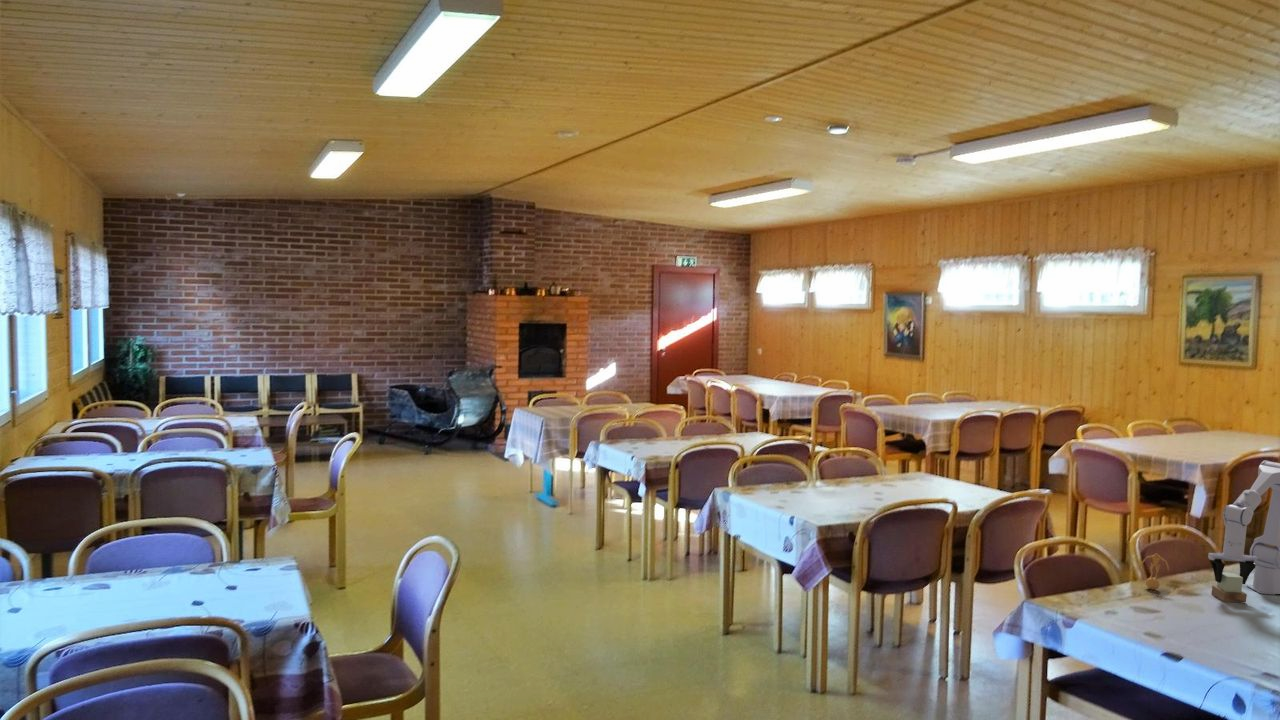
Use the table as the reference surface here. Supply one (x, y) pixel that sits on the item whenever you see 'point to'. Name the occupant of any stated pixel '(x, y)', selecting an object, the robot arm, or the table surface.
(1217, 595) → the walnut block
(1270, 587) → the robot arm
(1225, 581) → the sage cube
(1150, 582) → the figurine
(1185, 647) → the table surface
